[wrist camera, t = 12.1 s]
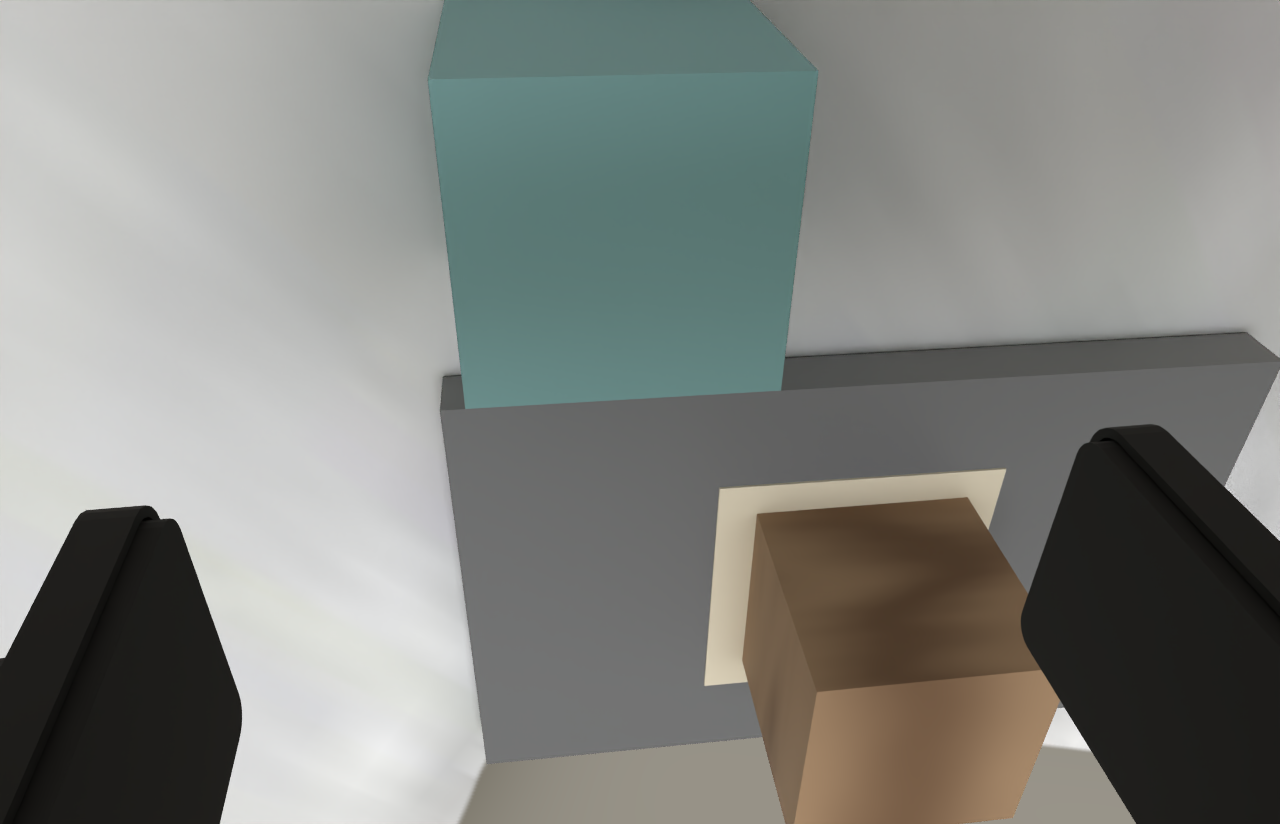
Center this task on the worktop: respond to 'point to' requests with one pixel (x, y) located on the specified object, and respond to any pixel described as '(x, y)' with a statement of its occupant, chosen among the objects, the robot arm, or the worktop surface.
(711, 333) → the teal block
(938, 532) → the walnut block
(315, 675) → the worktop surface
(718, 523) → the build plate
